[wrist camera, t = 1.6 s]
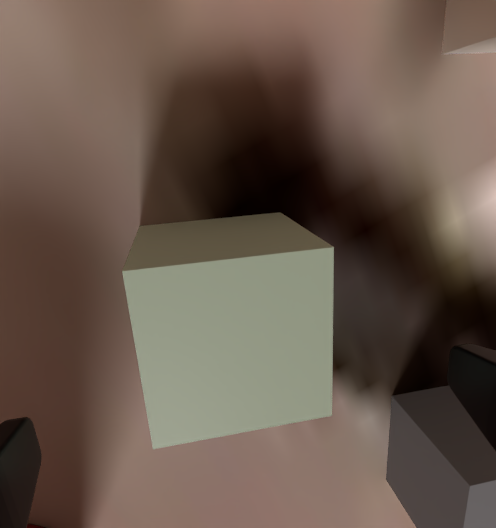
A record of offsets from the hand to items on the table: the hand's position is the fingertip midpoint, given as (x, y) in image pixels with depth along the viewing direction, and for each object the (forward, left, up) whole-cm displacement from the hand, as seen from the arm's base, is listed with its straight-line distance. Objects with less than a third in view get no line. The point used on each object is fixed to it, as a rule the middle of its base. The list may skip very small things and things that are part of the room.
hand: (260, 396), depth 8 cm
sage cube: (0, 0, -7) cm, 7 cm away
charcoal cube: (-10, +9, -7) cm, 15 cm away
